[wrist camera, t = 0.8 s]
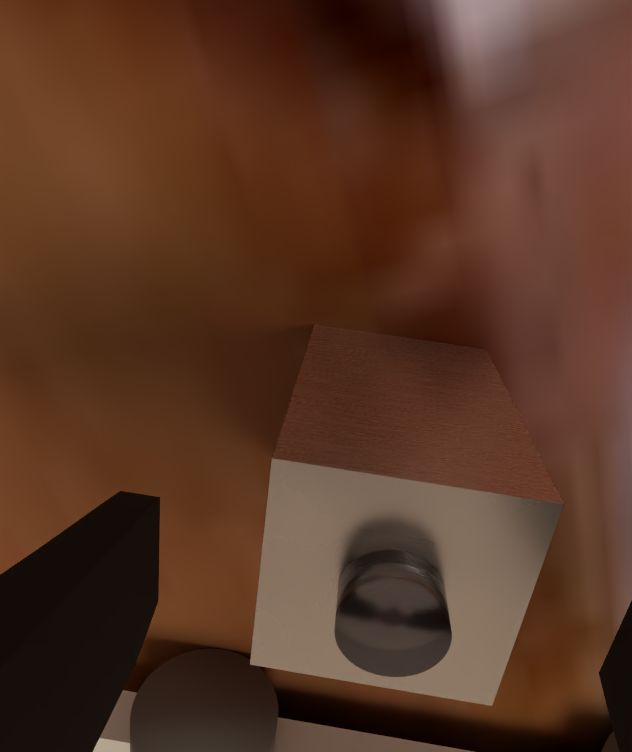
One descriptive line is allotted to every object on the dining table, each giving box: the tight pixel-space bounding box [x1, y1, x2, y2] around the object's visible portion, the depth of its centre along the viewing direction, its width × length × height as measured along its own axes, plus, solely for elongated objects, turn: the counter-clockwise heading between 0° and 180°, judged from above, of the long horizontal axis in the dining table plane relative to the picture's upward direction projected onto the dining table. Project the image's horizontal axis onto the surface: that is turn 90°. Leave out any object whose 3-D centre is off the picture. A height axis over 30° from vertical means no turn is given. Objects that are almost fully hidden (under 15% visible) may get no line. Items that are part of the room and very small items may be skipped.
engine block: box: [250, 324, 564, 706], centre depth 11 cm, size 4×4×7 cm
